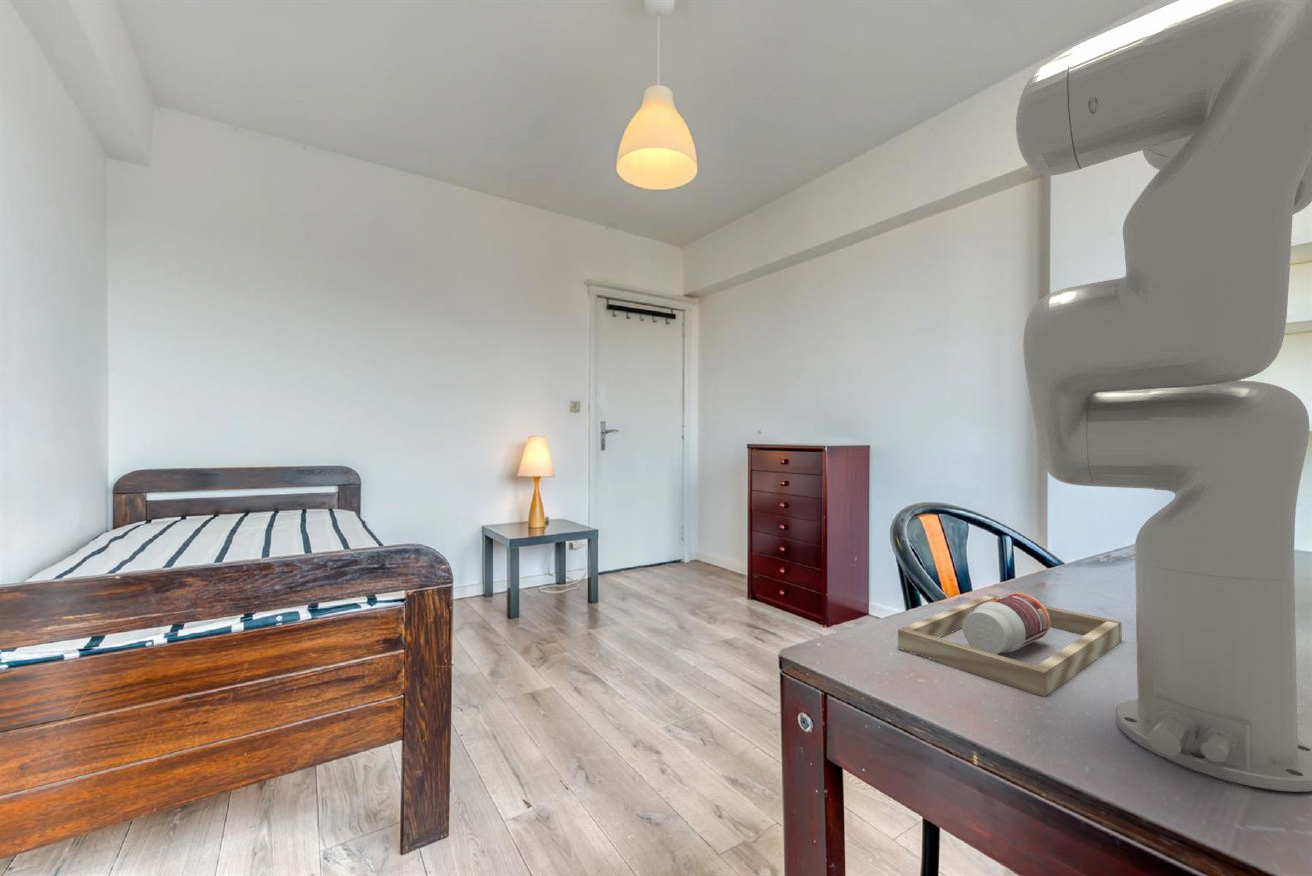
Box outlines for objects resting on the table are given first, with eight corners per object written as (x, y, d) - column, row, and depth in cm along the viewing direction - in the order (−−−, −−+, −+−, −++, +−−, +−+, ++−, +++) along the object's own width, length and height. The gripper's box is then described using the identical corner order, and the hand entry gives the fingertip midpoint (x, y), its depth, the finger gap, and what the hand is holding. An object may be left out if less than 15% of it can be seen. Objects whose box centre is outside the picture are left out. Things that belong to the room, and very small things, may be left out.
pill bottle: (1012, 582, 73) (970, 596, 66) (1061, 612, 68) (1020, 630, 62) (992, 618, 75) (949, 634, 69) (1038, 649, 70) (996, 670, 64)
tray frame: (1044, 696, 55) (1044, 672, 55) (898, 648, 68) (898, 629, 68) (1121, 640, 70) (1121, 621, 70) (989, 610, 83) (989, 594, 83)
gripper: (1239, 270, 60) (1242, 434, 59) (1257, 290, 68) (1260, 433, 68) (1149, 286, 66) (1152, 435, 66) (1177, 303, 74) (1179, 434, 74)
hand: (1207, 433), depth 67 cm, fingers closed
